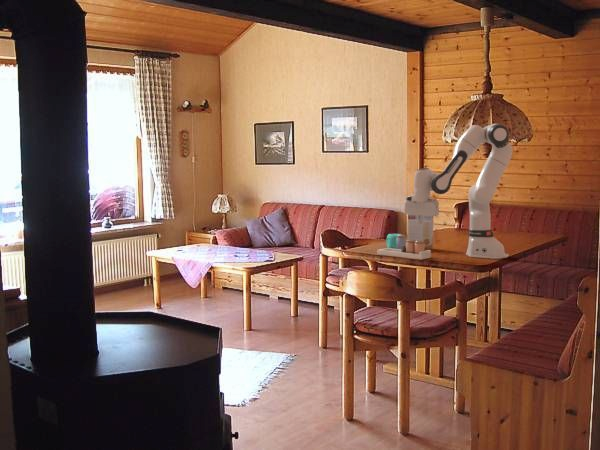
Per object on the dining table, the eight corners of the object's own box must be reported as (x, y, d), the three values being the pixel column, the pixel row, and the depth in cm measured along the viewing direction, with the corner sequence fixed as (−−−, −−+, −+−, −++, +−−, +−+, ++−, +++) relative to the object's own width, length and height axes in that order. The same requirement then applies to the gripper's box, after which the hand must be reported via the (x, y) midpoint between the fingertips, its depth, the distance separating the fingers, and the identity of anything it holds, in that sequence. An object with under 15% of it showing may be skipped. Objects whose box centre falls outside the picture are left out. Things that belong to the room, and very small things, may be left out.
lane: (430, 257, 378) (430, 250, 378) (421, 259, 371) (421, 252, 371) (387, 252, 398) (387, 245, 397) (377, 254, 391) (377, 247, 390)
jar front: (426, 257, 378) (426, 241, 377) (420, 258, 374) (420, 242, 373) (417, 256, 381) (418, 240, 380) (412, 257, 377) (412, 241, 376)
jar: (417, 256, 381) (417, 240, 380) (411, 257, 378) (411, 241, 377) (409, 255, 385) (409, 239, 384) (403, 256, 381) (403, 240, 380)
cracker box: (433, 248, 410) (433, 212, 408) (431, 250, 405) (432, 213, 402) (409, 247, 415) (409, 212, 413) (407, 249, 409) (407, 213, 407)
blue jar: (407, 250, 402) (407, 235, 401) (402, 251, 399) (402, 236, 398) (399, 250, 406) (399, 234, 405) (394, 251, 402) (394, 235, 401)
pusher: (415, 253, 389) (415, 243, 388) (403, 256, 381) (403, 246, 380) (412, 253, 390) (412, 243, 389) (400, 256, 382) (400, 245, 381)
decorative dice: (399, 246, 419) (399, 233, 419) (403, 248, 412) (403, 235, 411) (386, 247, 418) (386, 233, 417) (390, 249, 410) (390, 235, 410)
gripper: (441, 198, 376) (441, 224, 378) (409, 196, 390) (409, 221, 392) (435, 199, 372) (434, 225, 373) (403, 197, 386) (402, 222, 387)
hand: (421, 223), depth 383 cm, fingers closed
